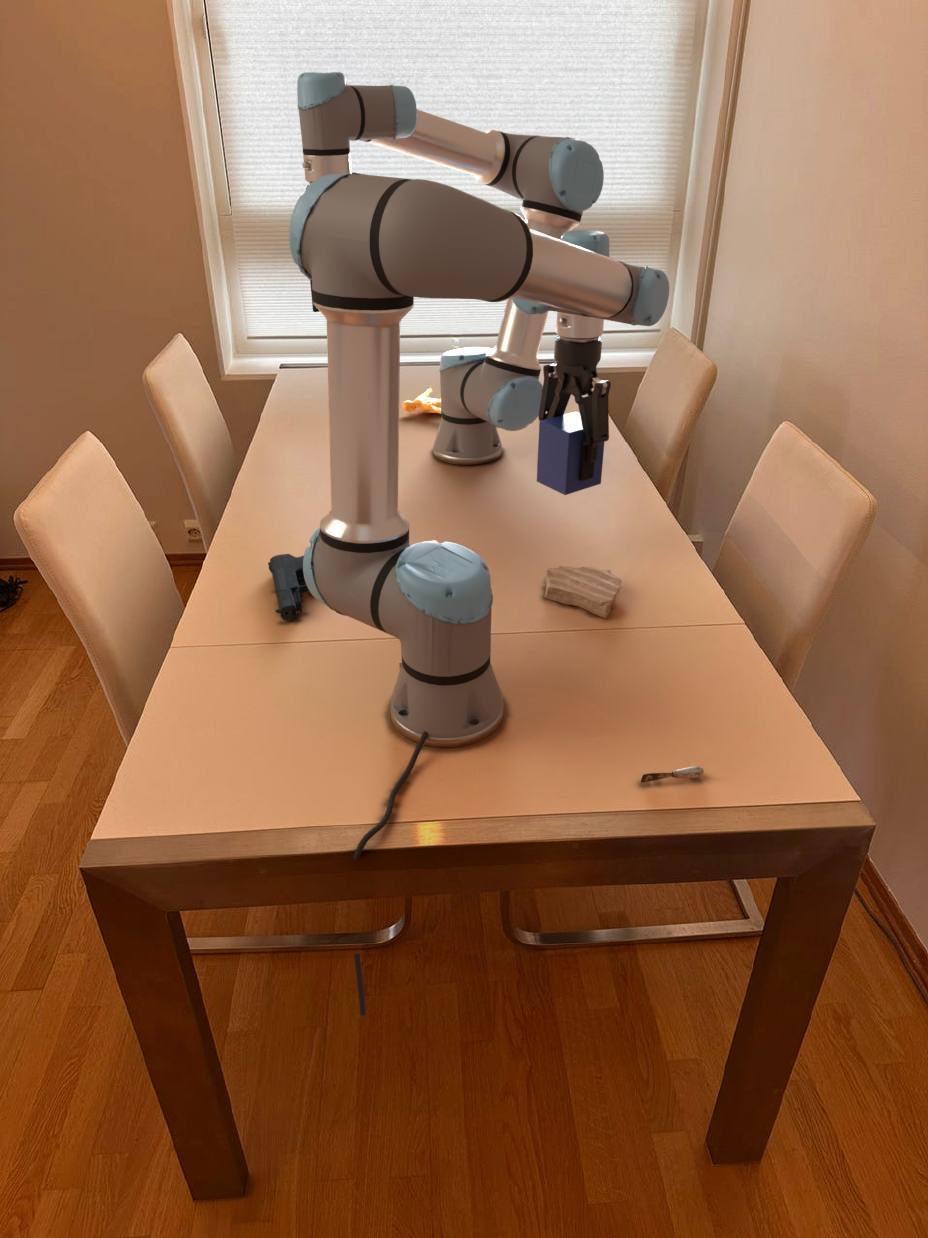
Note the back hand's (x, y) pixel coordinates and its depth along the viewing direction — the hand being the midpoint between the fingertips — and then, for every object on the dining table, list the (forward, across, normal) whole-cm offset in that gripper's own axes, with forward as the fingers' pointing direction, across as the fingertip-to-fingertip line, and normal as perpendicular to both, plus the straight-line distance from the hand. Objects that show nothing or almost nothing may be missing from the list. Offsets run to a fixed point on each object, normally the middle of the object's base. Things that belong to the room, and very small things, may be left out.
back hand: (339, 318), depth 156 cm
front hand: (+22, +36, +23) cm, 48 cm away
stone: (+37, +52, +14) cm, 65 cm away
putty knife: (+37, +91, -8) cm, 98 cm away
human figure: (+37, -38, +50) cm, 73 cm away
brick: (+24, +36, +23) cm, 49 cm away
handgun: (+37, +23, -22) cm, 49 cm away
